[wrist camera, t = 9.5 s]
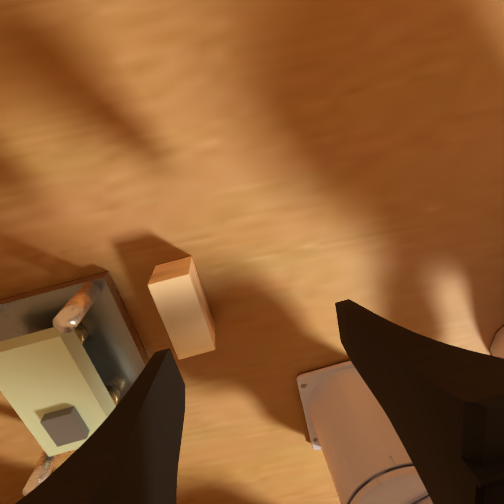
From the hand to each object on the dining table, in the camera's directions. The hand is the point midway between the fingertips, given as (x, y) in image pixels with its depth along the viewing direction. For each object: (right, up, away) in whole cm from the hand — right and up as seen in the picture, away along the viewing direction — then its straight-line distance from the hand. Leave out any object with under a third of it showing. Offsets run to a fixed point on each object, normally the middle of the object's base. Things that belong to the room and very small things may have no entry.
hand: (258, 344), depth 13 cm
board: (-13, -5, +8) cm, 17 cm away
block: (-5, +1, +10) cm, 11 cm away
